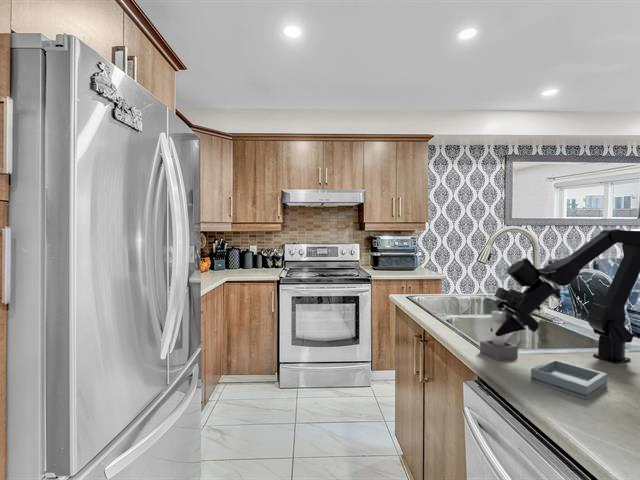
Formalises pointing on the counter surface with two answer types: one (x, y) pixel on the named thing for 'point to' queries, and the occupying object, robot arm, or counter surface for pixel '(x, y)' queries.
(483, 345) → the light bulb socket
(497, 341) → the white rounded column
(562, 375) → the parts tray
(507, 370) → the counter surface
